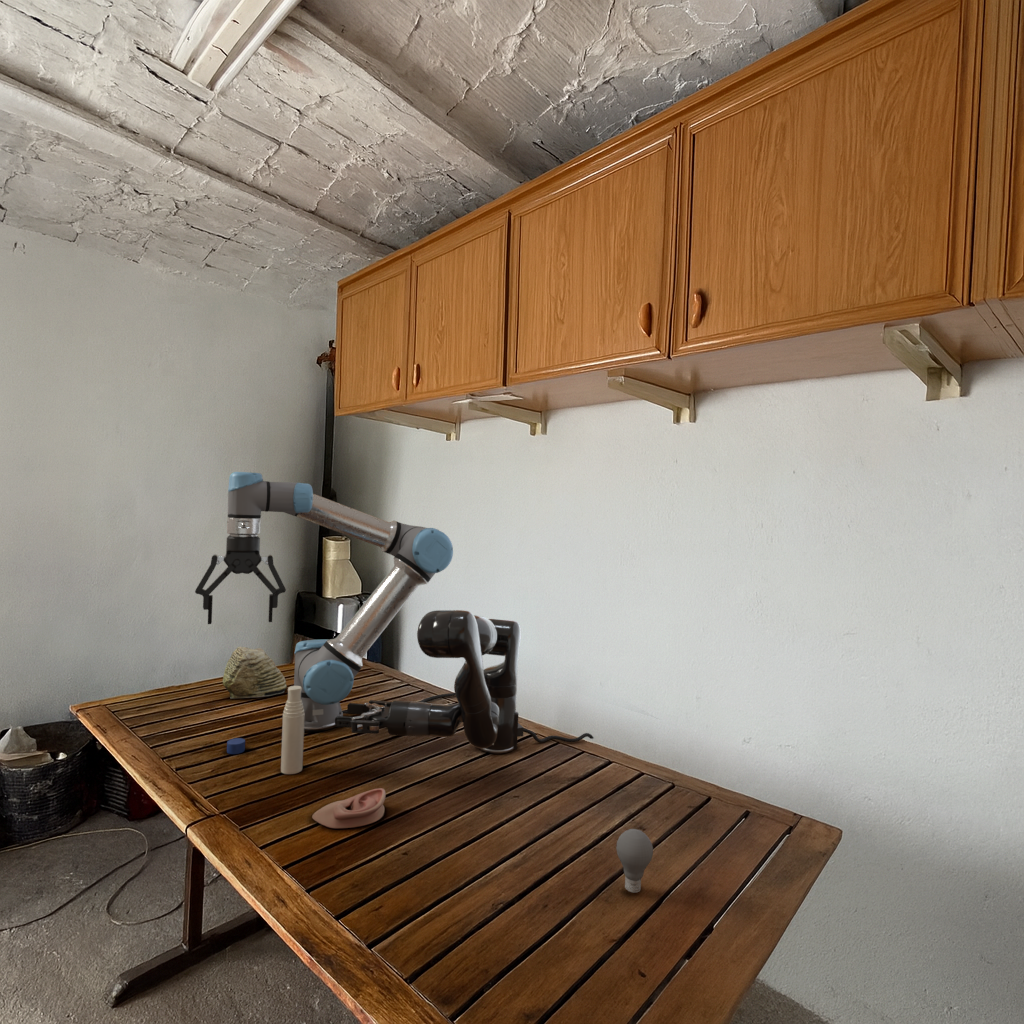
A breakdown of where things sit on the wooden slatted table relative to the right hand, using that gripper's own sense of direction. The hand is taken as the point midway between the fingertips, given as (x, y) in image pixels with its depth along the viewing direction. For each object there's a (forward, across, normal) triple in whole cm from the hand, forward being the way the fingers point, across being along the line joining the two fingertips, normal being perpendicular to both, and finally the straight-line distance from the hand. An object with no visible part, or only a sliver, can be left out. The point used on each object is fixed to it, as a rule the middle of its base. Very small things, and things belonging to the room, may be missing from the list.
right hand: (341, 714), depth 146 cm
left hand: (+28, -8, -18) cm, 35 cm away
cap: (+29, -8, +11) cm, 32 cm away
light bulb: (-62, +37, +13) cm, 73 cm away
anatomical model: (-8, +19, +13) cm, 25 cm away
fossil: (+44, -50, +14) cm, 68 cm away
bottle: (+11, +1, +13) cm, 17 cm away
